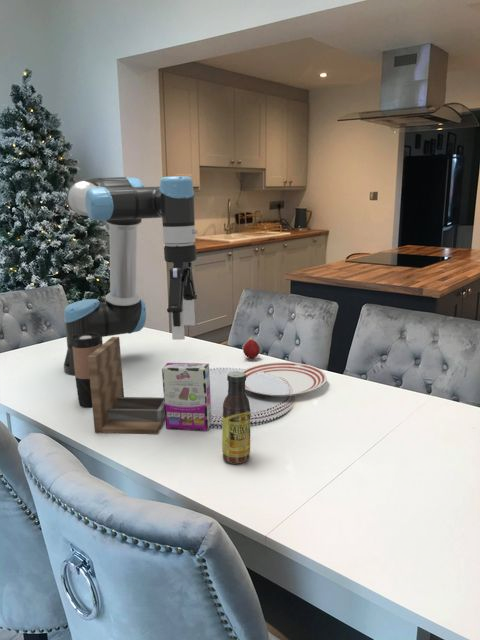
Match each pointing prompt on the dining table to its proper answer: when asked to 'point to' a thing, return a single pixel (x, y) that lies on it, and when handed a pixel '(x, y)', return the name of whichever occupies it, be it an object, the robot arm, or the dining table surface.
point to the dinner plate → (291, 376)
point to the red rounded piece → (251, 349)
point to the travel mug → (84, 365)
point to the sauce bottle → (236, 420)
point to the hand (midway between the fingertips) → (184, 331)
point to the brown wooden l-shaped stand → (119, 396)
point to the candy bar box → (187, 396)
